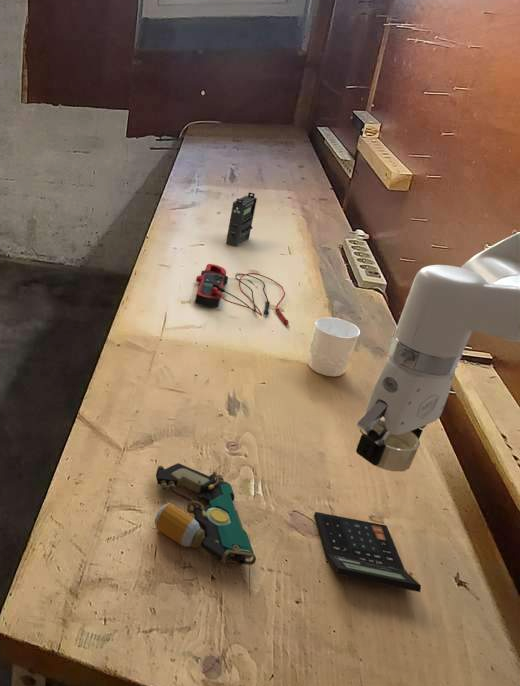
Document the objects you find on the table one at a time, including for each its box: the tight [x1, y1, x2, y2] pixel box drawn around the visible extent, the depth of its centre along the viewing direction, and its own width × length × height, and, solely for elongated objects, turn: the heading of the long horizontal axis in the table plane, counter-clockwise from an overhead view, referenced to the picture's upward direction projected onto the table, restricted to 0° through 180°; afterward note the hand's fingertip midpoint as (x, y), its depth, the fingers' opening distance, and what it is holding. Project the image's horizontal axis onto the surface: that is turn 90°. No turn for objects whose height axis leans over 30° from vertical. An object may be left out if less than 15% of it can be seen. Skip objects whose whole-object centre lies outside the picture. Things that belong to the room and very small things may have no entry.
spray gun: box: [154, 462, 257, 566], centre depth 85 cm, size 4×17×15 cm
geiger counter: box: [225, 191, 258, 247], centre depth 175 cm, size 10×4×15 cm, turn 132°
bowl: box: [356, 418, 421, 472], centre depth 84 cm, size 7×7×4 cm
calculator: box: [313, 511, 422, 593], centre depth 78 cm, size 9×12×3 cm
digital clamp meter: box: [194, 263, 291, 328], centre depth 146 cm, size 23×4×25 cm
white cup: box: [307, 316, 361, 377], centre depth 116 cm, size 8×8×10 cm
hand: (385, 450), depth 84 cm, fingers closed on bowl, 6 cm apart
